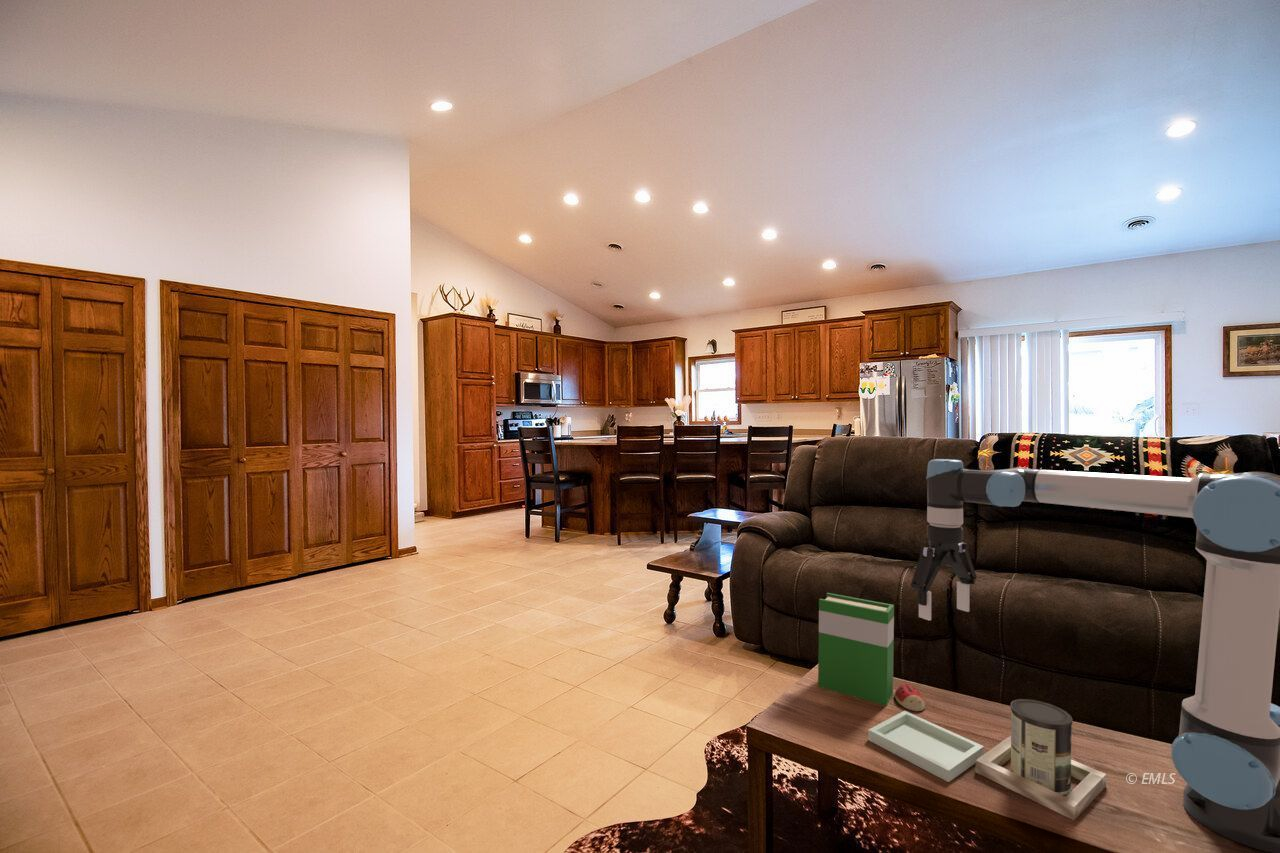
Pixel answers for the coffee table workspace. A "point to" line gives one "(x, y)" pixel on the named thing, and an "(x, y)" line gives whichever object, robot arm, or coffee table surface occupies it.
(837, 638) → the hardback book
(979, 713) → the coffee table surface
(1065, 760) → the coffee can
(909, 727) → the tray
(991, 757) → the wooden collar
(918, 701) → the red apple half
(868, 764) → the coffee table surface
